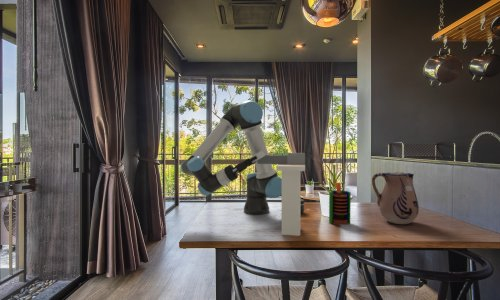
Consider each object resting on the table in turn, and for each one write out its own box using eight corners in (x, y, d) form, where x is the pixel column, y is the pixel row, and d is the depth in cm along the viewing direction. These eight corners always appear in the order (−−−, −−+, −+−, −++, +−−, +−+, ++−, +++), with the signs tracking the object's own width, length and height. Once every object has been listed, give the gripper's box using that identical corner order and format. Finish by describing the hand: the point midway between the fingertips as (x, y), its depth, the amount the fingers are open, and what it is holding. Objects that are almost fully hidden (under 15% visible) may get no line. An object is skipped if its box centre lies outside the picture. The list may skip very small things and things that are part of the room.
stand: (279, 225, 139) (279, 163, 139) (304, 226, 137) (304, 163, 137) (276, 236, 122) (276, 165, 122) (305, 237, 120) (305, 165, 120)
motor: (334, 225, 139) (334, 184, 139) (325, 221, 148) (325, 182, 147) (353, 224, 142) (353, 183, 142) (342, 219, 150) (342, 181, 150)
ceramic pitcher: (424, 228, 135) (424, 174, 135) (376, 225, 139) (376, 174, 139) (411, 219, 152) (411, 171, 152) (369, 217, 156) (369, 171, 156)
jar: (286, 210, 172) (286, 198, 172) (303, 211, 172) (303, 198, 172) (287, 214, 162) (287, 201, 162) (305, 214, 162) (305, 201, 162)
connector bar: (259, 163, 140) (258, 152, 140) (304, 163, 136) (304, 153, 136) (257, 163, 134) (257, 153, 134) (305, 164, 130) (305, 153, 130)
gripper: (236, 179, 151) (271, 159, 148) (224, 184, 126) (266, 161, 123) (230, 166, 152) (264, 146, 148) (216, 170, 127) (257, 146, 124)
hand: (265, 153), depth 136 cm, fingers open, 13 cm apart
